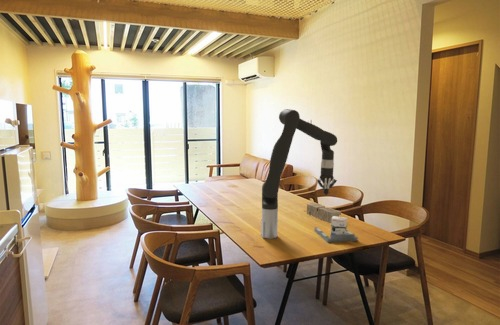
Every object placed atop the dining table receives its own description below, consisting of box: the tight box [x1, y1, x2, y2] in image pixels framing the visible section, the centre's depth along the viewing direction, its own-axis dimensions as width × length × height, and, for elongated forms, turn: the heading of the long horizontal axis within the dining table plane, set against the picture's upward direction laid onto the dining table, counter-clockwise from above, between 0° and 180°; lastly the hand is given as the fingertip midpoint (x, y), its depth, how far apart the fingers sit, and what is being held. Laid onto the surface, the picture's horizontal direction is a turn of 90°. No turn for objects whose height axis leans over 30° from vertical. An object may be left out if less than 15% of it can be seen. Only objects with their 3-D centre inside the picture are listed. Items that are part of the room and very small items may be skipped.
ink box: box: [330, 216, 348, 236], centre depth 196 cm, size 8×5×12 cm, turn 67°
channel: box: [313, 226, 359, 243], centre depth 199 cm, size 18×21×4 cm
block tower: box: [306, 201, 342, 224], centre depth 236 cm, size 8×8×29 cm
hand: (325, 194), depth 207 cm, fingers closed
